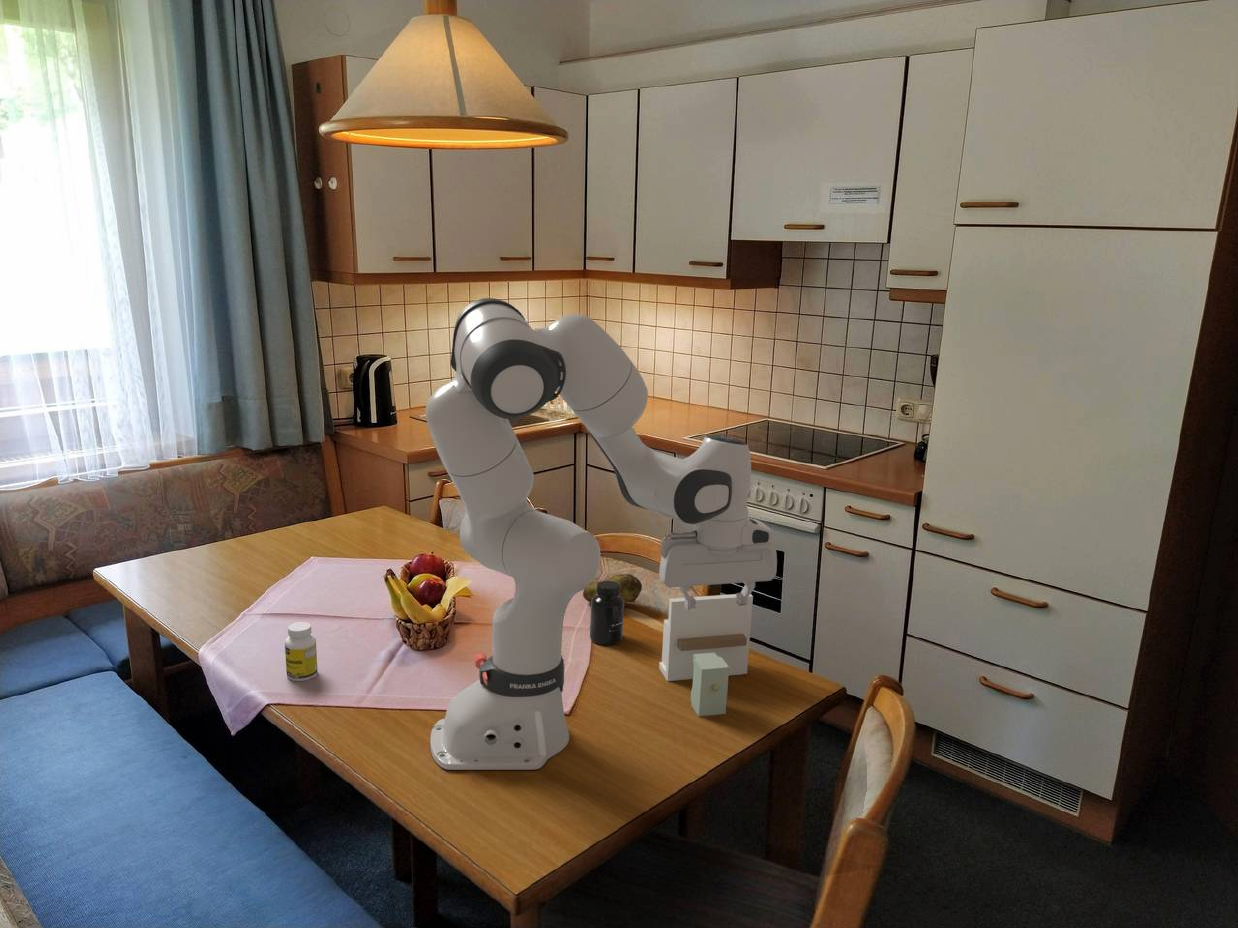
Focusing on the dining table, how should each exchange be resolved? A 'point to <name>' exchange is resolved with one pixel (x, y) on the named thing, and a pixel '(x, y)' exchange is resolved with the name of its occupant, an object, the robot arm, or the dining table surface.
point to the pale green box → (709, 684)
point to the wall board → (706, 634)
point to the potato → (628, 588)
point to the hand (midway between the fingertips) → (715, 606)
